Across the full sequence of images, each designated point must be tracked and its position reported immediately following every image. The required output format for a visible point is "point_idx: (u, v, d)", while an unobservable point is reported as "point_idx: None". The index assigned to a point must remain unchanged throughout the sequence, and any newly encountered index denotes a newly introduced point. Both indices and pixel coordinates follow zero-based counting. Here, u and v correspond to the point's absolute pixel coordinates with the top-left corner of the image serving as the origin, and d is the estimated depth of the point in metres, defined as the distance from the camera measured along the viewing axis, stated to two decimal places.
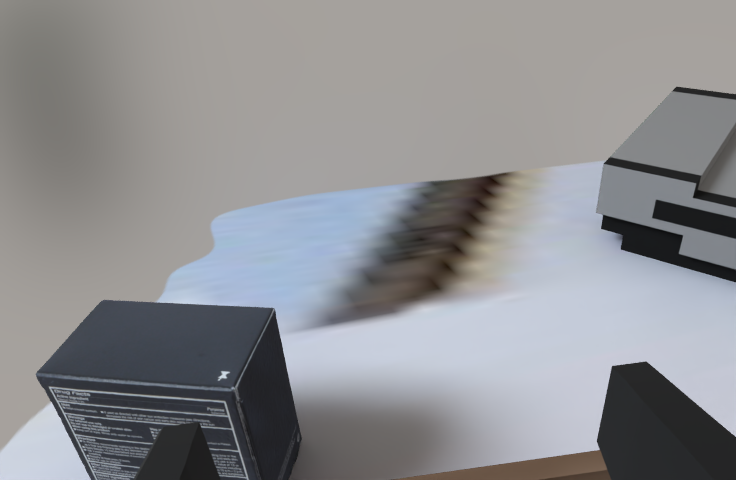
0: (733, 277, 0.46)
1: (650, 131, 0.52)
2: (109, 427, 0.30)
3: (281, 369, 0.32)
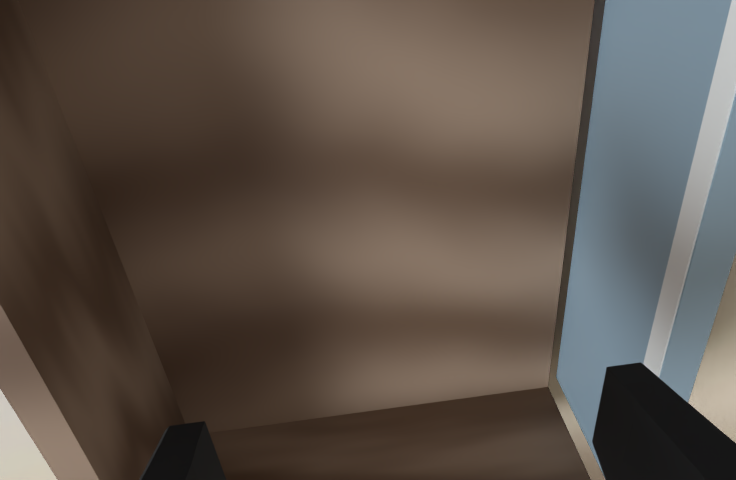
0: None
1: None
2: None
3: None
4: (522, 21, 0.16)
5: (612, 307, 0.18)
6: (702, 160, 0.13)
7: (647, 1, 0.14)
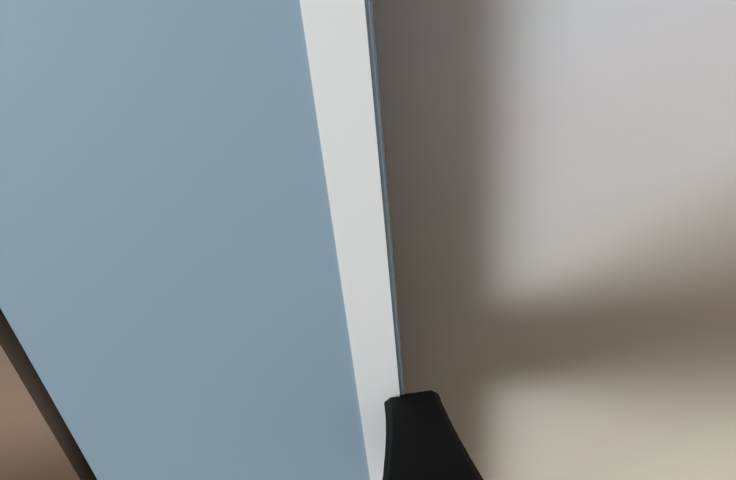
0: None
1: None
2: None
3: None
4: None
5: None
6: (369, 332, 0.09)
7: (102, 206, 0.08)
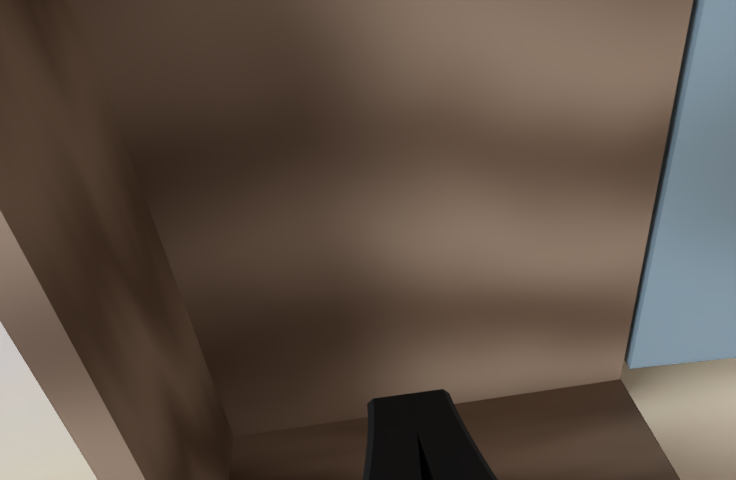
0: None
1: None
2: None
3: None
4: None
5: None
6: None
7: None
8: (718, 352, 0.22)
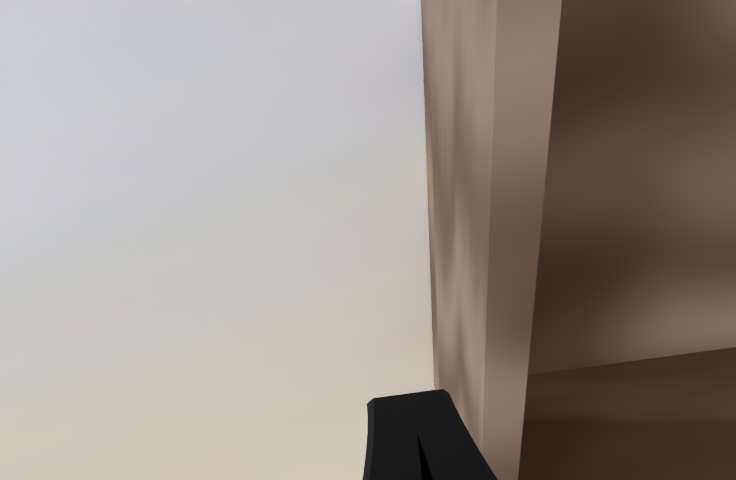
0: None
1: None
2: None
3: None
4: None
5: None
6: None
7: None
8: None
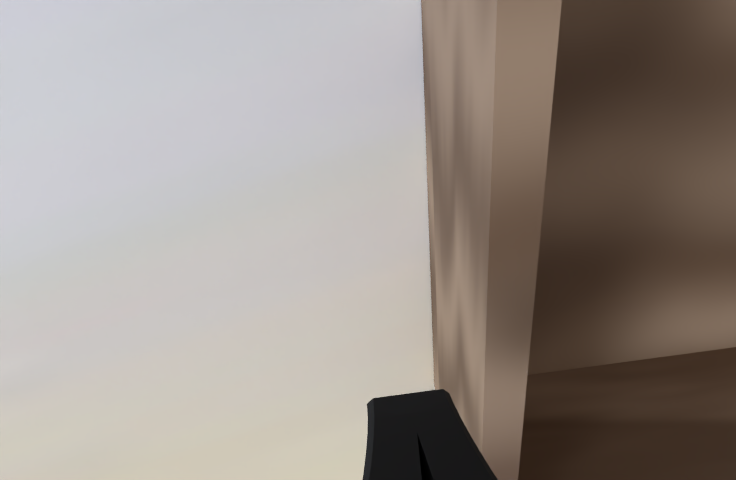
0: None
1: None
2: None
3: None
4: None
5: None
6: None
7: None
8: None
